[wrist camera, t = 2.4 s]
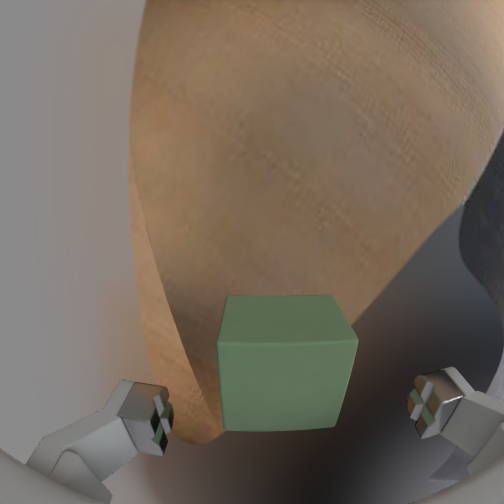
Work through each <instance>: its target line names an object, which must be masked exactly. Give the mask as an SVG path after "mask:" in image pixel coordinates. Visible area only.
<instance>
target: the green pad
mask: <svg viewBox="0 0 504 504" xmlns="http://www.w3.org/2000/svg"><path fill="white" fill-rule="evenodd" d="M357 346H358V338H357V336H356V335H355V333H354V331H353V329H352V327H351V326H350V324H349V322H348V321H347V319H346V317H345V315H344V314H343V312H342V310H341V308H340V307H339V305H338V303H337V302H336V300H335V298H334V297H333V296H332V295H306V296H238V295H229V296H227V297H226V301H225V306H224V310H223V314H222V319H221V323H220V328H219V332H218V337H217V341H216V352H217V364H218V376H219V387H220V397H221V407H222V417H223V426H224V429H225V430H230V431H287V430H305V429H317V428H326V427H334V426H335V425H336V422H337V419H338V416H339V413H340V409H341V406H342V403H343V400H344V396H345V393H346V389H347V386H348V382H349V378H350V375H351V371H352V367H353V363H354V359H355V355H356V350H357Z"/></svg>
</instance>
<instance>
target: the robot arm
mask: <svg viewBox="0 0 504 504" xmlns="http://www.w3.org/2000/svg"><path fill="white" fill-rule="evenodd" d="M414 386H415V389H413V390H412V392H410V394H409V396H408V399H407V406H406V407H407V412H408V414H409V416H410V418H412V419H414V420H415V421H416V424H415V428H416V430H417V431H418V433H419V435H420V437H421V439H424V438H427V437H430V436H433V435H436V434H439V433H441V435H442V436H444V437H445V438H447V439H448V440H449V441H451V442H452V443H454V444H455V445H457V446H458V447H460V448H461V449H462V450H464V451H465V452H467V453H468V454H470V455H471V456H473V457H474V458H473V459H472V460H471V461H470V463H469V464H468V465H467V467H466V470H467V472H468V474H469V477H467V478H465V479H463V480H461V481H459V482H457V483H455V484H454V485H451V486H449V487H447V488H445V489H443V490H441V491H439V492H437V493H434V494H432V495H429V496H427V497H425V498H422V499H420V500H417V501H414V502H412V503H409V504H504V401H501V400H499V399H496V398H494V397H491V396H489V395H487V394H484V393H482V392H479V391H476V392H475V391H474V390H473V389H472V387H471V386H470V385H469V384H468V383H467V381H466V380H465V379H464V378H463V377H462V375H461V374H460V373H459V372H458V371H457V370H456V368H454V367H449V368H445V369H441V370H438V371H434V372H430V373H427V374H422V375H419V376H418V377H417V378H416V379H415V382H414ZM168 398H169V392H168V389H167V388H166V387H164V386H158V385H152V384H146V383H140V382H133V381H128V380H121V381H120V382H119V383H118V384H117V386H116V388H115V389H114V391H113V393H112V394H111V396H110V398H109V399H108V401H107V403H106V404H105V406H104V408H103V410H102V411H101V412H99V411H96V412H94V413H92V414H91V415H89V416H87V417H85V418H83V419H81V420H79V421H77V422H75V423H73V424H70V425H68V426H66V427H64V428H62V429H60V430H58V431H56V432H54V433H52V434H49V435H47V436H45V437H43V438H42V439H41V441H40V442H39V444H38V446H37V447H36V449H35V450H34V452H33V453H32V455H31V456H30V458H29V460H28V461H27V463H26V464H23V463H21V462H20V461H18V460H17V459H15V458H14V457H12V456H11V455H9V454H8V453H6V452H5V451H3V450H2V449H0V504H110V502H111V499H112V494H111V492H110V491H109V490H108V489H107V488H106V487H105V485H104V484H103V483H102V481H103V480H105V479H106V478H107V477H109V476H110V475H111V474H113V473H114V472H115V471H117V470H118V469H119V468H120V467H121V466H123V465H124V464H125V463H127V462H128V461H129V460H130V459H132V458H133V457H134V456H135V455H137V454H138V452H142V453H147V454H153V455H159V456H164V452H165V449H166V446H167V442H168V440H167V437H166V434H167V433H169V432H170V431H171V429H172V426H173V419H174V413H173V407H172V404H171V403H169V402H168Z"/></svg>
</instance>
